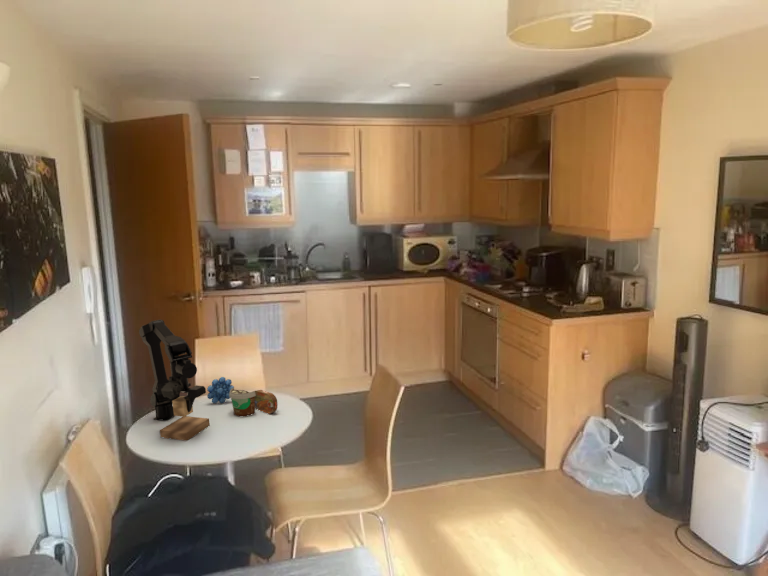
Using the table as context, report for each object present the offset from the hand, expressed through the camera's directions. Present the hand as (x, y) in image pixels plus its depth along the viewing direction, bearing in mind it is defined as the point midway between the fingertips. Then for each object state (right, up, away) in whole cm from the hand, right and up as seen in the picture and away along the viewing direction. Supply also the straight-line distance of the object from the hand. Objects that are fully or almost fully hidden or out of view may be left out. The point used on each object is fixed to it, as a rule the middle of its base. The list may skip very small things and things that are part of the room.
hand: (183, 411), depth 222 cm
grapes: (+6, -3, +31) cm, 31 cm away
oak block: (0, -1, 0) cm, 1 cm away
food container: (+18, -5, +16) cm, 25 cm away
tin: (+28, -4, +19) cm, 34 cm away
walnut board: (0, -8, +1) cm, 8 cm away
